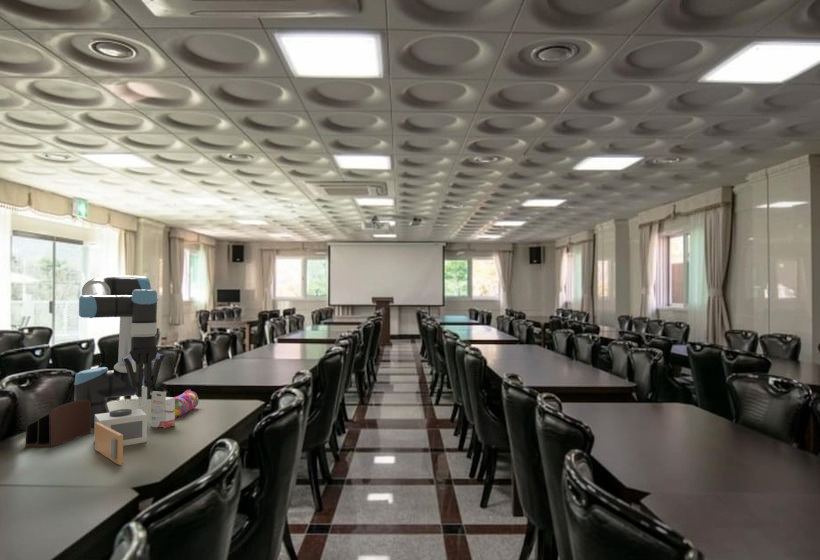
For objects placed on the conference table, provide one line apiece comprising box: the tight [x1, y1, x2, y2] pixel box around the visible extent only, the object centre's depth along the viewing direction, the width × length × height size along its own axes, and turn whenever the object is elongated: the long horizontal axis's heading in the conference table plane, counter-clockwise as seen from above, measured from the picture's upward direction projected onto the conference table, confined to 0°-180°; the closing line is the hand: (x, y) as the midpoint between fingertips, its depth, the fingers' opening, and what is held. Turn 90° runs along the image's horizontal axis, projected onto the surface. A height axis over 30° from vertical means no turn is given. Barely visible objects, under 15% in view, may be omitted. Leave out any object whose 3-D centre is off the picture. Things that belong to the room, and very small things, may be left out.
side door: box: [94, 422, 124, 465], centre depth 163 cm, size 2×25×9 cm, turn 48°
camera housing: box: [93, 408, 148, 447], centre depth 182 cm, size 13×15×11 cm
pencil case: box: [173, 389, 200, 418], centre depth 229 cm, size 22×9×9 cm, turn 8°
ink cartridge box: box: [150, 390, 176, 429], centre depth 204 cm, size 9×5×15 cm, turn 68°
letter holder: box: [25, 400, 92, 448], centre depth 186 cm, size 10×20×14 cm, turn 175°
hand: (142, 406), depth 165 cm, fingers closed
